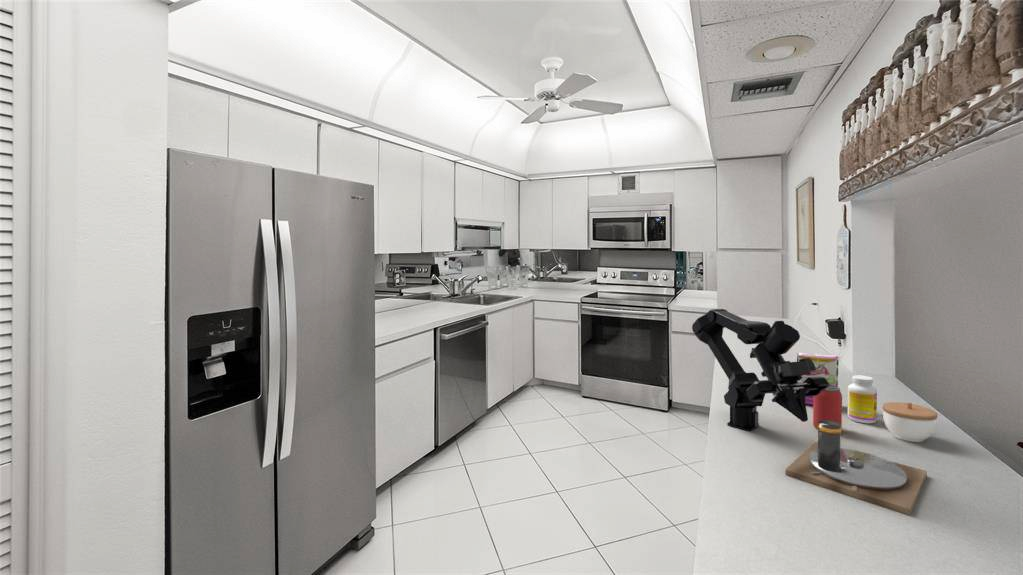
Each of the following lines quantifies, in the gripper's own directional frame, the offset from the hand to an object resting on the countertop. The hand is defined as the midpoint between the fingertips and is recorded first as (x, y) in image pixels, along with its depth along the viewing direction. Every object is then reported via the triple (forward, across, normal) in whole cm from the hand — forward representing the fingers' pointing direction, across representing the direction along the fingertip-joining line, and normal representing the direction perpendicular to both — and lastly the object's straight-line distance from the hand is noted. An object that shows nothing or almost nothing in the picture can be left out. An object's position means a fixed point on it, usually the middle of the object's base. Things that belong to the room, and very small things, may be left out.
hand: (805, 420), depth 102 cm
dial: (+11, +6, +2) cm, 13 cm away
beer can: (-5, +21, +20) cm, 29 cm away
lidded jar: (+2, +37, +14) cm, 39 cm away
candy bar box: (-17, +33, +32) cm, 49 cm away
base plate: (+12, +6, +3) cm, 14 cm away
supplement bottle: (-7, +36, +22) cm, 43 cm away
